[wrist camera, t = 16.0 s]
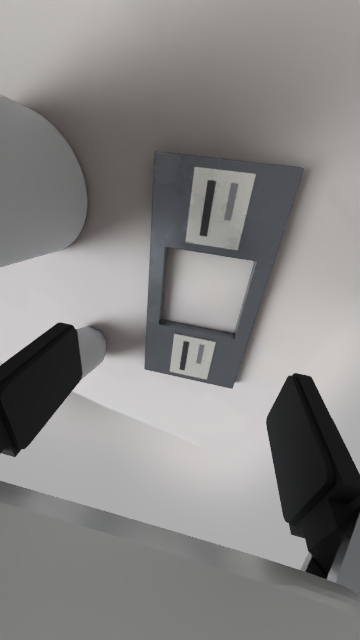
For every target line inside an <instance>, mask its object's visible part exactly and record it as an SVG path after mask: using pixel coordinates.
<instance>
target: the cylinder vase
mask: <svg viewBox="0 0 360 640" xmlns="http://www.w3.org/2000/svg"><path fill="white" fill-rule="evenodd" d="M86 214H87V190H86V184H85V180H84V176H83V173H82V170H81V167H80V165H79V162H78V160H77V158H76V156H75V154H74V152H73V150H72V149H71V147H70V146H69V144H68V143H67V141H66V140H65V138H64V137H63V136H62V135H61V133H60V132H59V131H58V130H57V129H56V128H55V127H54V126H53V125H52V124H51V123H50V122H49V121H48V120H46V119H45V118H44V117H43V116H41V115H40V114H38V113H37V112H35V111H33V110H31V109H30V108H27V107H25V106H23V105H21V104H19V103H17V102H15V101H13V100H11V99H9V98H7V97H5V96H2V95H0V267H3V266H6V265H10V264H13V263H17V262H20V261H24V260H27V259H31V258H34V257H38V256H41V255H45V254H48V253H52V252H56V251H59V250H62V249H64V248H66V247H67V246H69V245H70V244H71V243H73V242H74V241H75V239H76V238H77V237H78V236H79V234H80V232H81V230H82V228H83V226H84V223H85V219H86Z"/></svg>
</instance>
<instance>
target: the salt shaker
mask: <svg viewBox="0 0 360 640" xmlns="http://www.w3.org/2000/svg"><path fill="white" fill-rule="evenodd" d="M76 330H77V333H78V341H79V348H80V356H81V364H82V372H83V374H82V378H83V377H85V376H86V375H87V374H88V373H89V372H91V371H92V370H93V369H94V368H96V367H97V366H98V365H99V364H100V363H101V362H102V361H103V359H104V356H105V352H106V344H107V342H106V340H105V338H104V337H103V335H102V333H101V332H100V331H98V330H96V329H93V328H91V327H89V326H88V327H84V328H80V329H76ZM82 378H81V379H82Z"/></svg>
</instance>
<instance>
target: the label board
mask: <svg viewBox="0 0 360 640" xmlns="http://www.w3.org/2000/svg"><path fill="white" fill-rule="evenodd" d="M303 170H304V168H299V167H290V166H281V165H272V164H263V163H254V162H245V161H236V160H227V159H218V158H210V157H201V156H192V155H183V154H174V153H165V152H156V151H155V160H154V181H153V202H152V223H151V244H150V265H149V286H148V307H147V328H146V349H145V369H146V370H151V371H155V372H160V373H164V374H169V375H173V376H178V377H182V378H187V379H191V380H196V381H200V382H205V383H209V384H214V385H218V386H223V387H227V388H233V385H234V382H235V379H236V376H237V373H238V370H239V367H240V364H241V361H242V358H243V355H244V351H245V348H246V345H247V342H248V339H249V336H250V333H251V330H252V327H253V324H254V321H255V318H256V315H257V311H258V308H259V305H260V302H261V299H262V296H263V293H264V290H265V287H266V284H267V281H268V278H269V275H270V271H271V268H272V265H273V262H274V259H275V256H276V253H277V250H278V247H279V244H280V241H281V238H282V235H283V232H284V228H285V225H286V222H287V219H288V216H289V213H290V210H291V207H292V204H293V201H294V198H295V195H296V192H297V188H298V185H299V182H300V179H301V176H302V173H303ZM168 247H170V248H176V249H182V250H189V251H195V252H201V253H207V254H214V255H220V256H226V257H233V258H239V259H245V260H252V261H255V262H254V265H253V269H252V272H251V276H250V279H249V283H248V286H247V290H246V294H245V297H244V301H243V304H242V308H241V311H240V315H239V318H238V322H237V325H236V329H235V333H234V334H232V333H227V332H222V331H217V330H212V329H207V328H201V327H196V326H191V325H186V324H181V323H176V322H171V321H166V320H161V319H162V307H163V295H164V284H165V272H166V260H167V248H168Z"/></svg>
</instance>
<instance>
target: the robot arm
mask: <svg viewBox="0 0 360 640" xmlns="http://www.w3.org/2000/svg"><path fill="white" fill-rule="evenodd" d="M82 374H83V372H82V364H81V356H80V348H79V341H78V333H77V330H76V329H75V328H74V326H73V325H69V324H65V323H57V324H56V325H55V326H53V327H52V328H50V329H49V330H48V331H46V332H45V333H44V334H42V335H41V336H40V337H38V338H37V339H36V340H34V341H33V342H32V343H30V344H29V345H28V346H26V347H25V348H23V349H22V350H21V351H19V352H18V353H17V354H15V355H14V356H13V357H11V358H10V359H9V360H7V361H6V362H5V363H3V364H2V365H1V366H0V453H1V452H2V453H3V454H6V455H10V456H13V457H16V455H17V454H18V453H19V452H20V450H21V449H25V448H26V447H27V446H28V445H29V444H30V443H31V442H32V440H33V439H34V438H35V437H36V435H37V434H38V433H39V432H40V430H41V429H42V428H43V427H44V425H45V424H46V423H47V422H48V420H49V419H50V418H51V417H52V415H53V414H54V412H56V410H57V409H58V408H59V406H60V405H61V404H62V403H63V401H64V400H65V399H66V398H67V396H68V395H69V394H70V393H71V391H72V390H73V389H74V388H75V386H76V385H77V384H78V383H79V381H80V380H81V378H82ZM266 423H267V431H268V436H269V441H270V447H271V452H272V458H273V463H274V468H275V474H276V479H277V485H278V490H279V495H280V501H281V506H282V512H283V516H284V519H285V521H286V522H287V523H289V526H290V530H291V534H292V535H295V536H298V537H302V538H305V540H306V543H307V548H308V551H309V553H308V555H307V557H306V559H305V562H304V564H303V566H302V568H301V570H298V569H295V568H291V567H288V566H285V565H282V564H279V563H276V562H273V561H269V560H267V559H263V558H260V557H257V556H254V555H250V554H248V553H244V552H241V551H237V550H234V549H231V548H227V547H224V546H221V545H217V544H214V543H211V542H207V541H204V540H201V539H197V538H194V537H190V536H187V535H184V534H181V533H177V532H174V531H170V530H167V529H164V528H160V527H157V526H153V525H150V524H147V523H143V522H140V521H137V520H133V519H129V518H126V517H123V516H119V515H116V514H113V513H109V512H106V511H102V510H99V509H96V508H92V507H89V506H85V505H82V504H78V503H75V502H71V501H68V500H65V499H61V498H58V497H54V496H51V495H47V494H44V493H40V492H37V491H33V490H30V489H26V488H23V487H19V486H16V485H13V484H9V483H6V482H2V481H0V640H360V474H359V472H358V470H357V468H356V466H355V464H354V462H353V460H352V458H351V456H350V454H349V452H348V450H347V448H346V446H345V444H344V442H343V439H342V438H341V436H340V433H339V431H338V429H337V427H336V425H335V423H334V421H333V419H332V418H331V416H330V414H329V412H328V410H327V408H326V406H325V404H324V402H323V400H322V398H321V396H320V394H319V391H318V389H317V388H316V386H315V383H314V381H313V379H312V378H311V377H310V376H306V375H302V374H297V373H294V374H293V375H292V376H288V378H287V379H286V381H285V383H284V385H283V387H282V389H281V391H280V393H279V395H278V397H277V399H276V401H275V403H274V405H273V407H272V409H271V410H270V412H269V415H268V416H267V422H266Z"/></svg>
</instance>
